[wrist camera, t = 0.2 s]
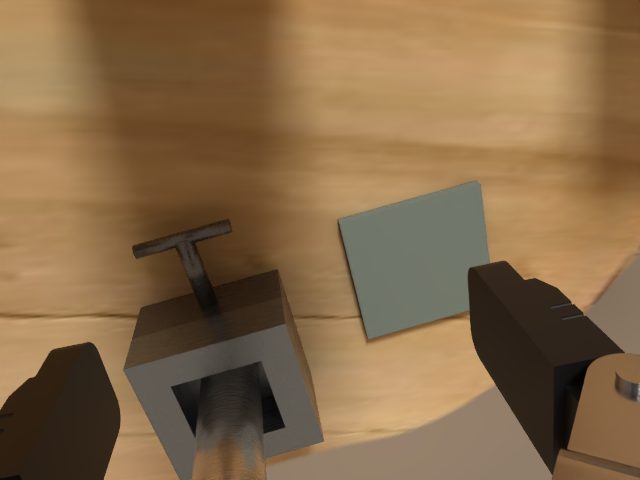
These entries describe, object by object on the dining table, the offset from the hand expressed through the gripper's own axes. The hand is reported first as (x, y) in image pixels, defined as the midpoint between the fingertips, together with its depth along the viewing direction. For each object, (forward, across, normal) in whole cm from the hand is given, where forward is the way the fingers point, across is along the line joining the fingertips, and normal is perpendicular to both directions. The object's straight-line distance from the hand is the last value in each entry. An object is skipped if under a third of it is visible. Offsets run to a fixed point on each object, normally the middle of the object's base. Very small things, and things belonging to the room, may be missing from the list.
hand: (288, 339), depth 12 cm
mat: (+18, -7, +9) cm, 22 cm away
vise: (+18, +5, +9) cm, 21 cm away
